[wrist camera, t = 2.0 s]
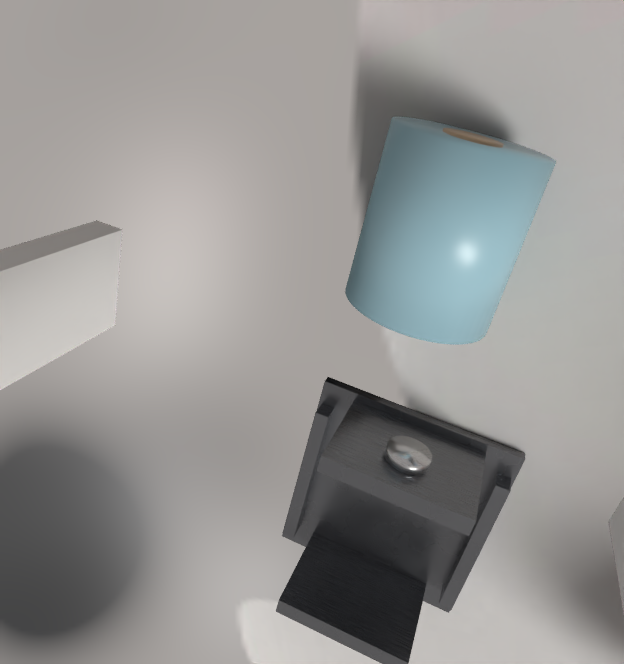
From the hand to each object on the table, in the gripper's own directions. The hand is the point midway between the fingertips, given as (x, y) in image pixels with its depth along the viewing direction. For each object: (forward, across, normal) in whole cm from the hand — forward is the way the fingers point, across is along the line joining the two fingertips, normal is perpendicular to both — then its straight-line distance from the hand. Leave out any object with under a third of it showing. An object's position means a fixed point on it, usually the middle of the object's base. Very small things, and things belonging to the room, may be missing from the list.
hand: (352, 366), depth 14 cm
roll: (+18, 0, 0) cm, 18 cm away
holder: (+18, +2, -18) cm, 26 cm away
